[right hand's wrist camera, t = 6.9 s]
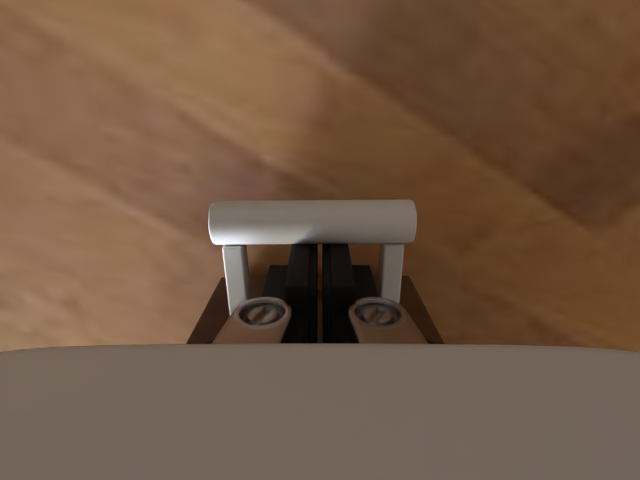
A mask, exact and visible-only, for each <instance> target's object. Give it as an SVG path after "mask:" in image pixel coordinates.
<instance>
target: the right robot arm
mask: <svg viewBox="0 0 640 480" xmlns="http://www.w3.org/2000/svg"><path fill="white" fill-rule="evenodd" d="M317 327H318V244H292V249H291V254H290V259H289V264H288V265H271V266H270V268H269V271H268V275H267V278H266V282H265V285H264V288H263V292H262V295H261V297H258V298H253V299H250V300H247V301H245V302H243V303H241V304H240V305H238V306H237V307H236V308H235V309H234V311H233V312H232V314H231V315H230V317H229V318H228V320H227V321H226V323H225V324H224V326H223V327H222V329H221V330H220V332H219V333H218V335H217V336H216V337H215V339H213V340H211V341H209V342H207V343H205V344H167V345H102V346H69V347H48V348H34V349H21V350H13V351H5V352H0V480H640V352H635V351H627V350H618V349H608V348H591V347H574V346H536V345H477V344H435V343H433V342H431V341H429V340H427V339H425V337H424V336H423V335H422V333H421V332H420V330H419V329H418V327H417V326H416V324H415V323H414V321H413V320H412V318H411V317H410V315H409V314H408V312H407V311H406V309H405V308H404V307H403V306H402V305H400V304H399V303H397V302H395V301H393V300H390V299H387V298H382V297H379V295H378V292H377V288H376V285H375V282H374V278H373V275H372V272H371V268H370V266H369V265H352V264H351V259H350V254H349V249H348V244H322V328H323V344H317Z"/></svg>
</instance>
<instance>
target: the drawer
mask: <svg viewBox="0 0 640 480" xmlns="http://www.w3.org/2000/svg"><path fill="white" fill-rule="evenodd" d="M208 226H209V234H210V237H211V240H212V242H213V243H214V244H216V245H223V247H222V252H223V261H224V269H225V277H224V278H221V280H220V281H219V283H218V285H217V287H216V289H215V291H214V293H213V295H212V296H211V298H210V300H209V302H208V304H207V306H206V308H205V310H204V311H203V313H202V315H201V317H200V319H199V321H198V323H197V324H196V326H195V328H194V330H193V332H192V334H191V336H190V338H189V339H188V341H187V343H186V344H205V343H207V342H209V341H211V340H213V339H215V337H216V336H217V335H218V333H219V332H220V330H221V329H222V327H223V326H224V324H225V323H226V321H227V320H228V318H229V317H230V315H231V314H232V312H233V311H234V309H235V308H236V307H237V306H238V305H240V304H241V303H243V302H245V301H247V300H250V299H253V298H258V297H261V295H262V292H263V288H264V285H265V282H266V278H267V277H249V269H248V258H247V247H246V244H358V243H381V245H380V261H379V276H373V278H374V282H375V285H376V288H377V292H378V295H379V297H382V298H387V299H390V300H393V301H395V302H397V303H399V304H400V305H402V306H403V307H404V308H405V309H406V311H407V312H408V314H409V315H410V317H411V318H412V320H413V321H414V323H415V324H416V326H417V327H418V329H419V330H420V332H421V333H422V335H423V336H424V337H425V339H427V340H429V341H431V342H433V343H435V344H444V342H443V340H442V338H441V336H440V334H439V333H438V331H437V329H436V327H435V325H434V323H433V321H432V319H431V317H430V315H429V314H428V312H427V310H426V308H425V306H424V304H423V302H422V300H421V298H420V296H419V295H418V293H417V291H416V289H415V287H414V285H413V283H412V281H411V279H410V277H409V276H402V267H403V256H404V245H403V243H411V242H413V240H414V238H415V235H416V230H417V212H416V207H415V204H414V202H413V200H410V199H393V200H256V201H214V202H212V204H211V206H210V210H209V216H208ZM317 344H323V328H322V277H318V327H317Z"/></svg>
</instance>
